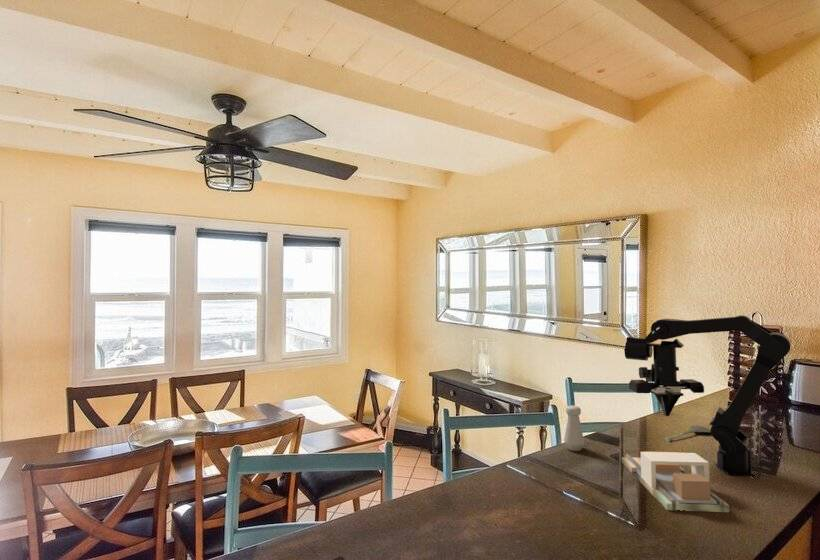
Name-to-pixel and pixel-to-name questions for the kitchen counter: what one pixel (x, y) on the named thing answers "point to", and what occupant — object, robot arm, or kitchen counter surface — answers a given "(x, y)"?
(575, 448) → the salt shaker
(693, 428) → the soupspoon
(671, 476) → the sled
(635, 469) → the track deck
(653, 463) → the tunnel
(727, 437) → the robot arm
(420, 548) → the kitchen counter surface
